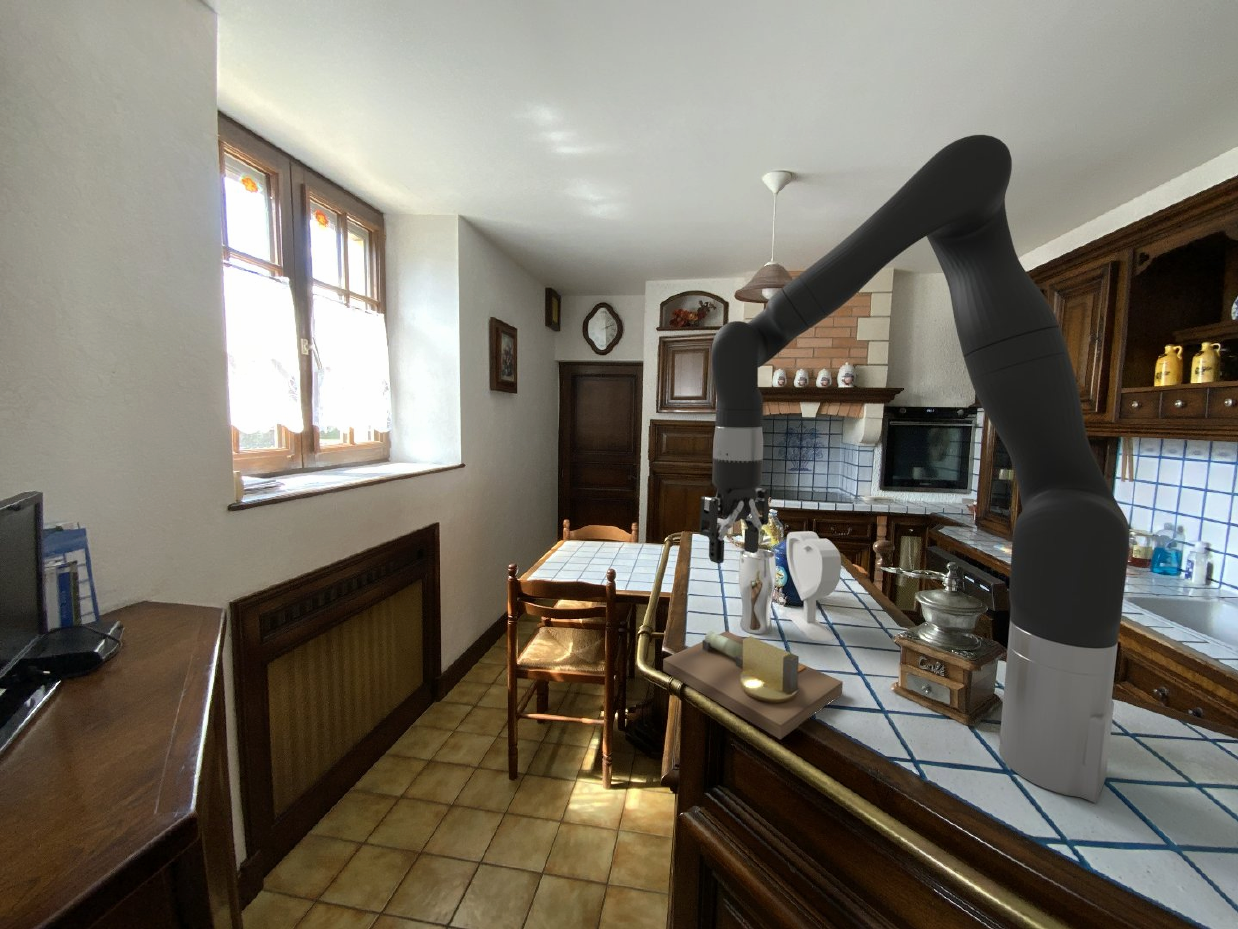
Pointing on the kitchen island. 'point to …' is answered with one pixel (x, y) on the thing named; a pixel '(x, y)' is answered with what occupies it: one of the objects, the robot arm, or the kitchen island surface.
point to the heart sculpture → (812, 578)
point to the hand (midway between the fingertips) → (734, 556)
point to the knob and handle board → (719, 678)
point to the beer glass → (757, 590)
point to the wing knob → (768, 672)
